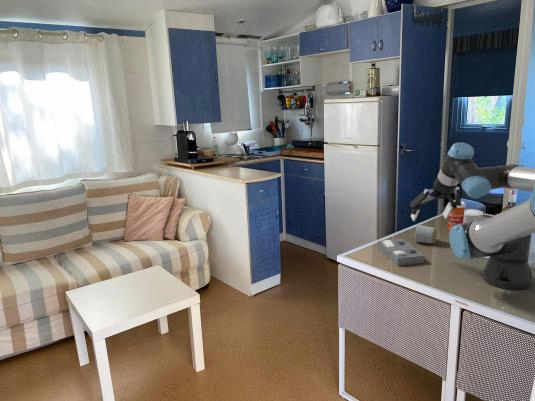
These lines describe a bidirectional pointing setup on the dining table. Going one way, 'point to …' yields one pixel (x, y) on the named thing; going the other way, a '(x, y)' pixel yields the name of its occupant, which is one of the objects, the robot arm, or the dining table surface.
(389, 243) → the rocker
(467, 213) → the ramekin
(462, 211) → the paper cup
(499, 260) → the robot arm
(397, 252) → the rocker
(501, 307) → the dining table surface
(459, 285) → the dining table surface
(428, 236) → the ceramic mug
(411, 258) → the rocker switch box
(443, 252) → the dining table surface
